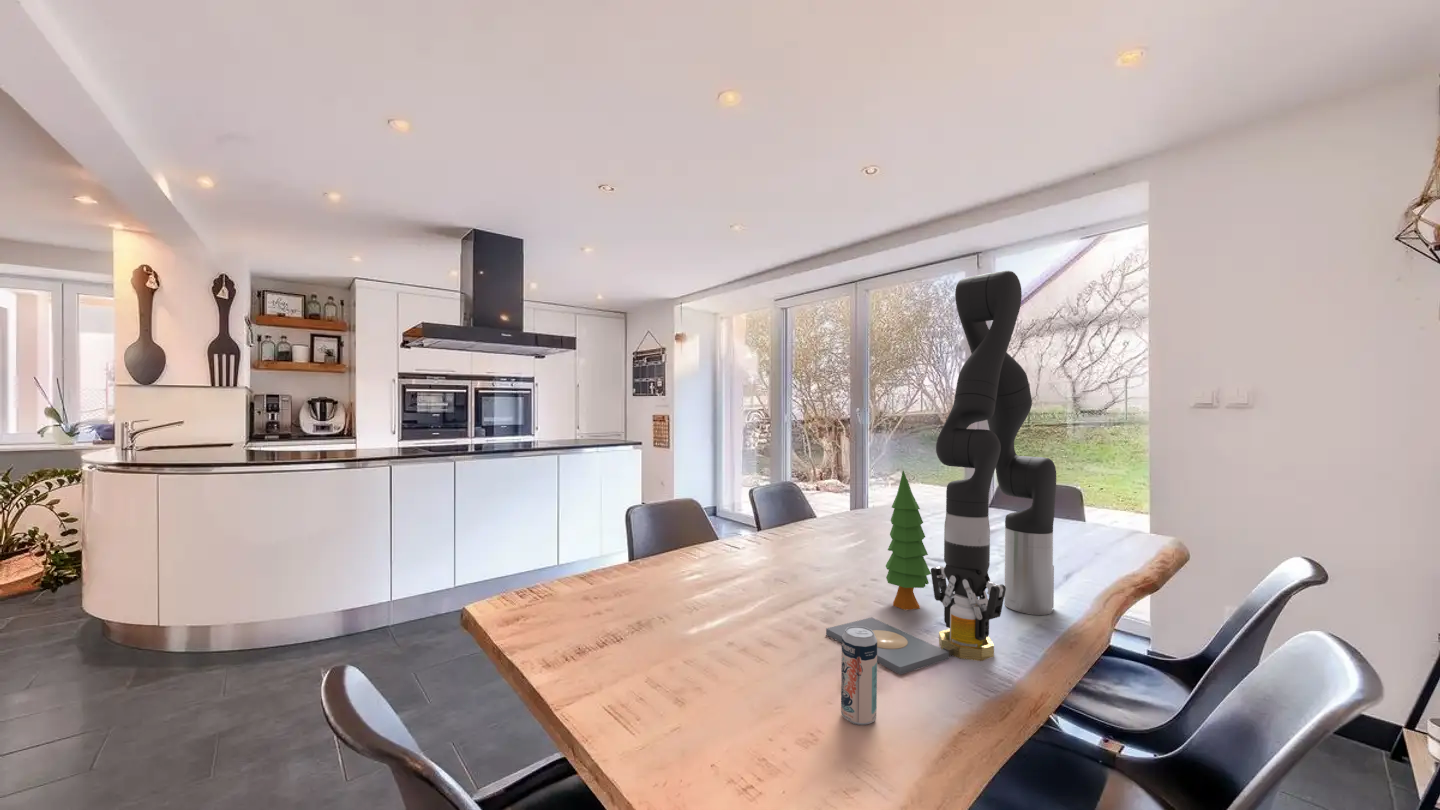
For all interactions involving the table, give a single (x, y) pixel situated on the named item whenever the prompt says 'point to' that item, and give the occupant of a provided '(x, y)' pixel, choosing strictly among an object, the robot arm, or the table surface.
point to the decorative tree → (906, 548)
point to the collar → (966, 648)
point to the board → (895, 646)
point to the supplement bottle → (963, 622)
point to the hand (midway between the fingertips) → (965, 632)
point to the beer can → (859, 675)
